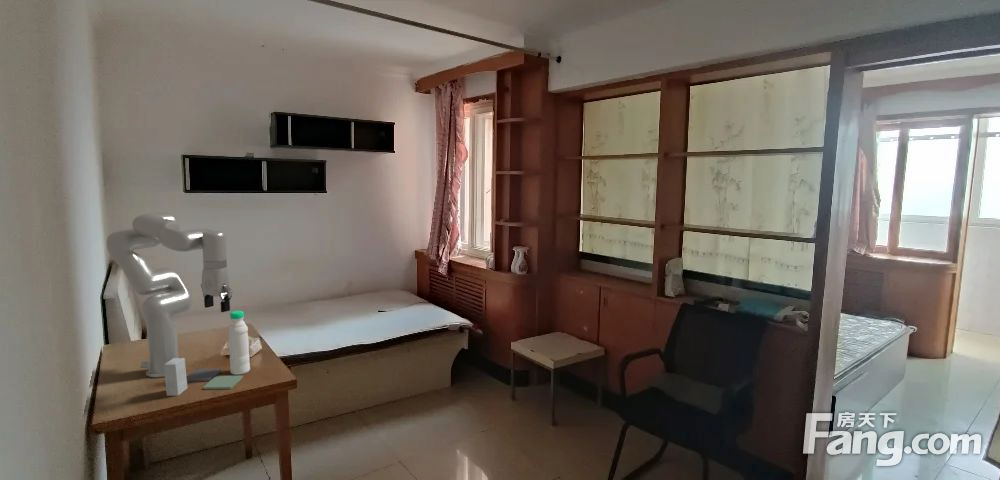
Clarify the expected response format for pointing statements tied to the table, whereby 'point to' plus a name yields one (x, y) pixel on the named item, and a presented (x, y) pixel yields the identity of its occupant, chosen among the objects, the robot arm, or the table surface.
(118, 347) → the table surface
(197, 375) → the charcoal mat
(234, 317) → the water bottle
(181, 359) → the skincare box
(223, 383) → the sage mat
